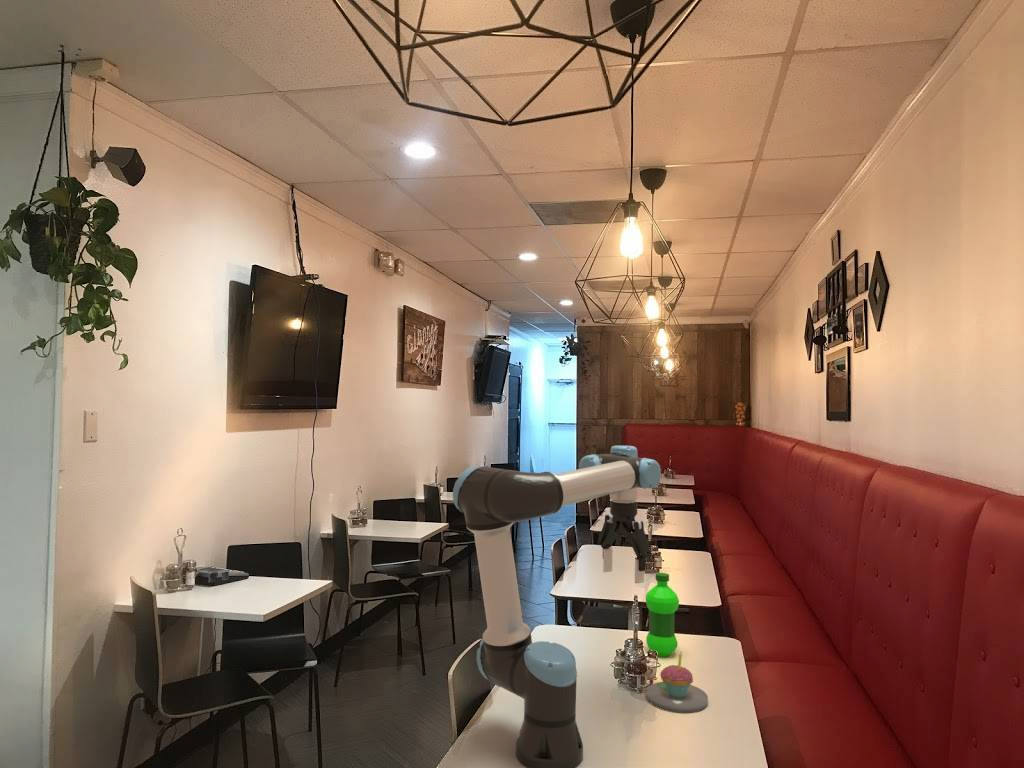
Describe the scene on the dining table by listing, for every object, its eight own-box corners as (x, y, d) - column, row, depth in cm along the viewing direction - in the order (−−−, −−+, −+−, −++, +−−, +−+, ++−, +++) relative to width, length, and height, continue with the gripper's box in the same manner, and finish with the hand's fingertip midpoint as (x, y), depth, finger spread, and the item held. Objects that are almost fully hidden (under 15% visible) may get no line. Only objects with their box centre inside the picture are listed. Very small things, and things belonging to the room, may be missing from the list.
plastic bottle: (648, 645, 223) (649, 569, 224) (681, 651, 219) (682, 572, 220) (641, 656, 214) (642, 576, 215) (675, 661, 210) (675, 580, 211)
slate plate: (676, 718, 172) (676, 712, 172) (634, 694, 186) (634, 688, 186) (720, 704, 180) (720, 698, 181) (677, 682, 194) (677, 677, 194)
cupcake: (699, 698, 181) (699, 652, 181) (671, 702, 178) (672, 656, 178) (680, 685, 189) (681, 641, 189) (654, 689, 186) (654, 644, 186)
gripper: (665, 506, 183) (664, 585, 182) (606, 494, 204) (605, 565, 204) (643, 508, 179) (643, 589, 178) (586, 496, 200) (585, 568, 200)
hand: (623, 577), depth 191 cm, fingers open, 13 cm apart
